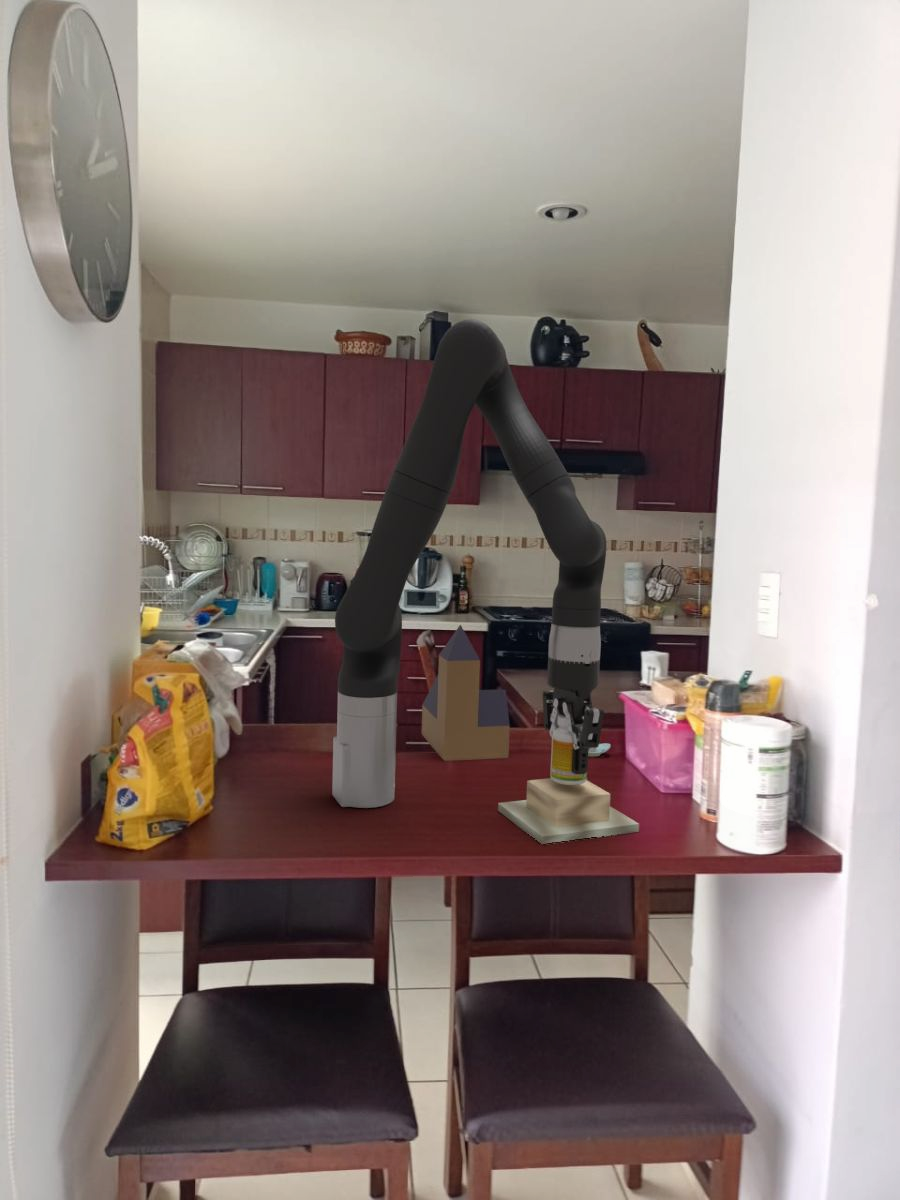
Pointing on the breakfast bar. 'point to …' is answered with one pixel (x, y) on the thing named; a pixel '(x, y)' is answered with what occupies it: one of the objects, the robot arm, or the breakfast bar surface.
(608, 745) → the pacifier
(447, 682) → the toy building blocks
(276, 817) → the breakfast bar surface
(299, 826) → the breakfast bar surface
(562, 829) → the pedestal base
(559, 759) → the supplement bottle
